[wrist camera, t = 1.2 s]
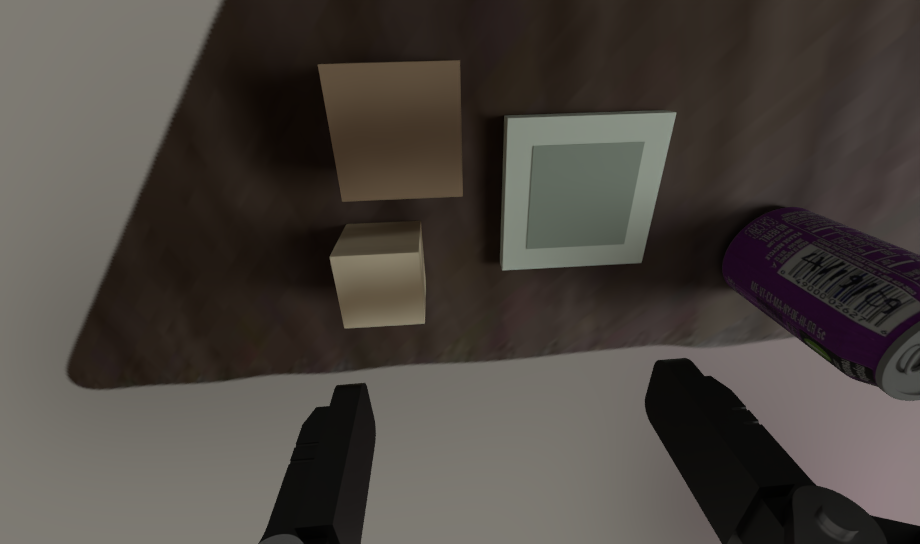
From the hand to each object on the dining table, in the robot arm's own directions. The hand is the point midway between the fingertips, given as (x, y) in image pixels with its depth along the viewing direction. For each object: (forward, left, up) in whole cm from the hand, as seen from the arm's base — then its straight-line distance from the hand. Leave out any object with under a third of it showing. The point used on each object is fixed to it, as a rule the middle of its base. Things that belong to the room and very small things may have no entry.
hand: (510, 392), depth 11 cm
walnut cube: (-5, -4, -17) cm, 18 cm away
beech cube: (+4, -6, -17) cm, 18 cm away
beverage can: (+5, +22, -17) cm, 29 cm away
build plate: (0, +7, -17) cm, 19 cm away
